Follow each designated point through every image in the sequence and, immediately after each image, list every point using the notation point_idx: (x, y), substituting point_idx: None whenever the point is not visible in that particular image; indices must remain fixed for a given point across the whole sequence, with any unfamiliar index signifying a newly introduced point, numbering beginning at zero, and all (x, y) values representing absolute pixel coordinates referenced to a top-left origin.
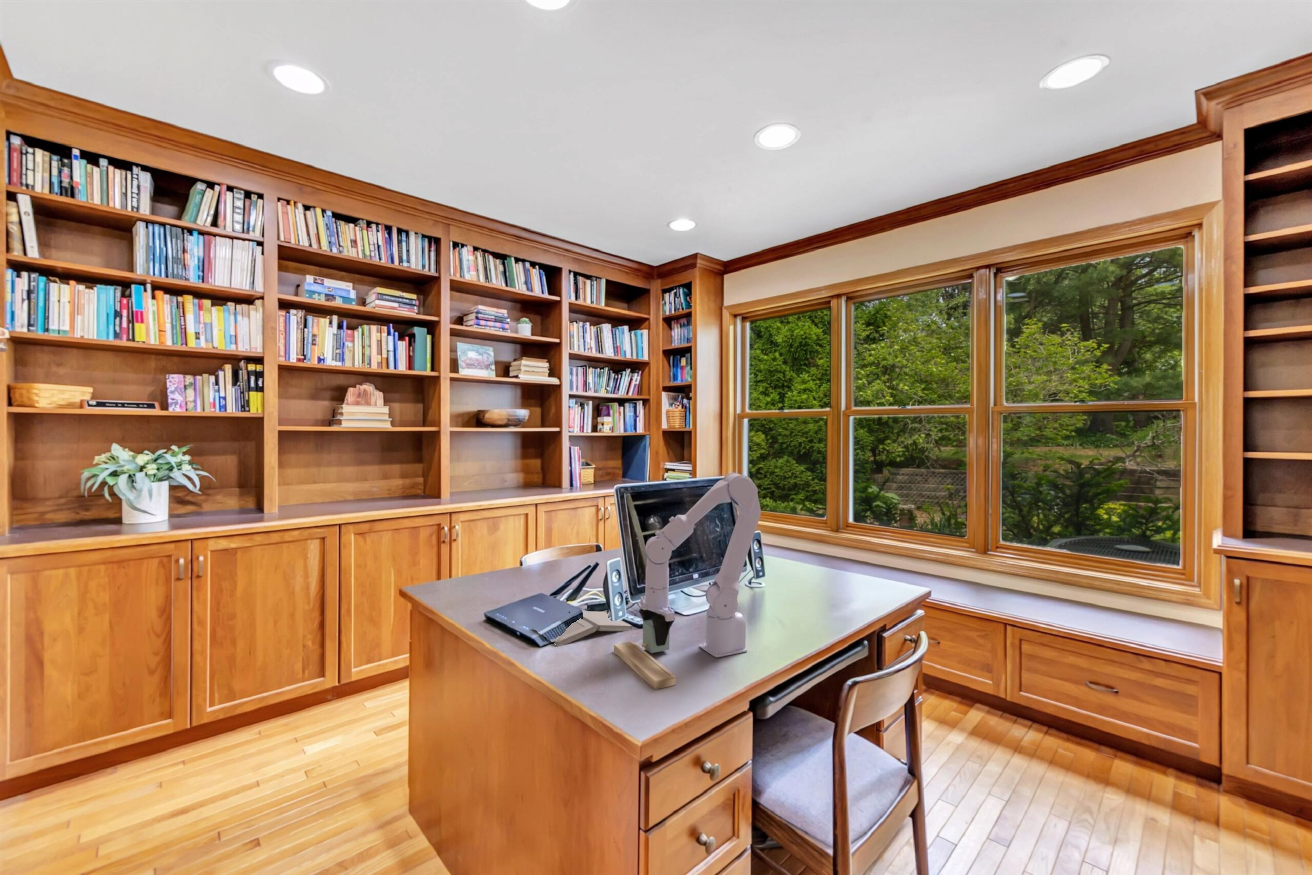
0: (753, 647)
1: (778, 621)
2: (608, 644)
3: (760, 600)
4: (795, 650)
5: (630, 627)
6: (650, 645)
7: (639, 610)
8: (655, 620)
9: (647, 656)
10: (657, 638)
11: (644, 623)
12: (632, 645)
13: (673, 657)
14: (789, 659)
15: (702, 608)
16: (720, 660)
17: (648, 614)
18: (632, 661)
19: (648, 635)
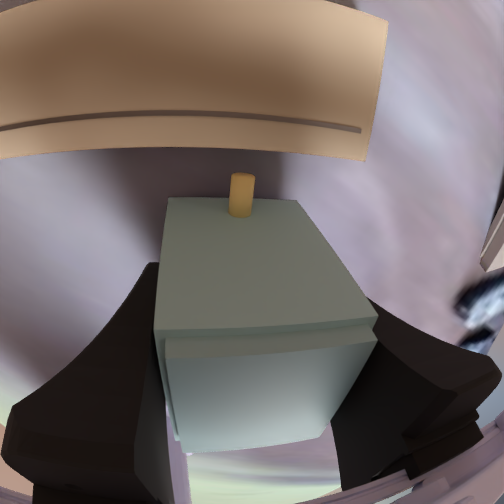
0: None
1: (245, 493)
2: (449, 75)
3: (340, 482)
4: None
5: (485, 262)
6: (174, 219)
7: (494, 374)
8: (3, 440)
9: (48, 126)
10: (128, 295)
11: (347, 316)
12: (298, 114)
13: (109, 289)
14: None
15: None
16: None
17: (389, 414)
18: (37, 2)
19: (223, 258)
